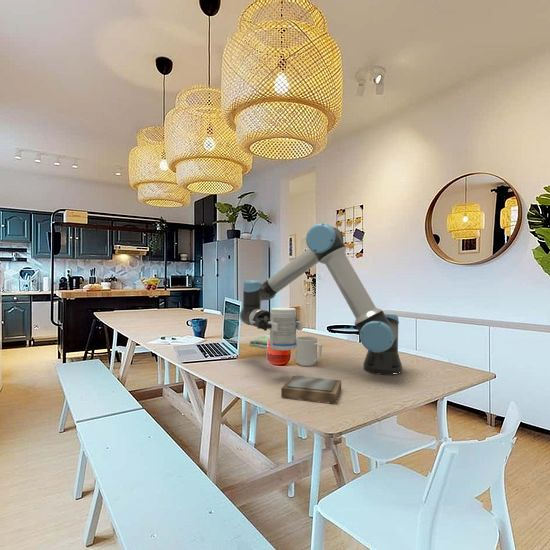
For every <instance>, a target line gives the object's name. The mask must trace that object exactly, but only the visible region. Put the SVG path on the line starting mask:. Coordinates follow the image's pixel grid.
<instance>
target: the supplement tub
mask: <svg viewBox="0 0 550 550" xmlns="http://www.w3.org/2000/svg"><path fill="white" fill-rule="evenodd" d="M296 311H297V309H296V308H295V307H272V308H270V311H269V312H270V322H273V323H277V324H278V332H276V331H272V330H270V331H269V334H270V347H271V348H272V349H271V350H273V349H274V350H275V351H280V350H281V351H291V350H294V349H296V338H297V329H296V319H297V312H296Z"/></svg>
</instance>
